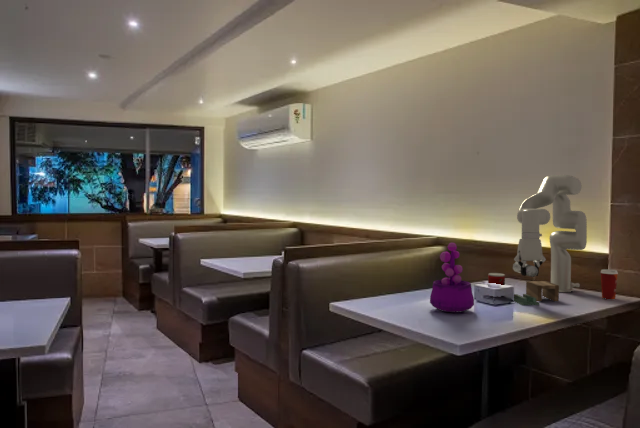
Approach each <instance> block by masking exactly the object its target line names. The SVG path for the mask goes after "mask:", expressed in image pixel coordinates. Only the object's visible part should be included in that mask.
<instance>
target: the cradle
mask: <svg viewBox="0 0 640 428" xmlns="http://www.w3.org/2000/svg"><path fill="white" fill-rule="evenodd" d="M513 298H514V301H515V302H514V301H513V302H514V303H516V302H517V303H516V304H518V303H519V305H521V306H540V302H537V301H536V298H534V297H532V296H530V295H527V294H526V293H522V295H519V294H517V293H513Z"/></svg>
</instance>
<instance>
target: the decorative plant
mask: <svg viewBox="0 0 640 428" xmlns="http://www.w3.org/2000/svg"><path fill="white" fill-rule="evenodd" d="M457 248H458V247H457V244H456V243H455V242H449V243H448V245H447V249H448V251H442V252H441V253H440V254H439V260H440V261H441V262H444V263H443V264H442V265H441V269H442V271H443V272H444V274H445V277H443V278H441V279H437V280H434V281H433V282H432V289H431V292H430V297H429V304H430V305H431V306H432V307H434V308H435V309H438V310H439V311H442V312H447V313H462V312H465V311H469V310H471V309H472V308H473V306H475V297H474V294H473V289H472V283H471V282H469V281H466V280H462V276H461V275H460V274H461V273H462V272H463V270H464V269H463V266H462V265H460V264H455V263H456V262H455V259H458V258H460V252H459V251H457ZM449 251H450V252H449Z"/></svg>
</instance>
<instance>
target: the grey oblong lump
mask: <svg viewBox="0 0 640 428" xmlns="http://www.w3.org/2000/svg"><path fill="white" fill-rule="evenodd" d="M525 267H526V276H527V277H531V278H535V277H537V276H536V275H537V274H538V269H537V268H536V267H535V265H531V264H528V263H526V265H525ZM512 270H513V271H514V272H515V273H519V274H521V266H520V265H519V264H518V263H517V262H516V261H515V262H514V263H513V264H512ZM538 275H539V274H538Z"/></svg>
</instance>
